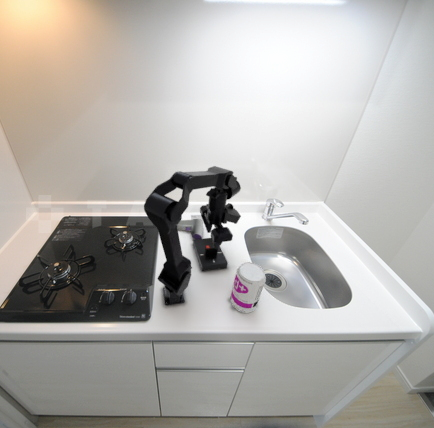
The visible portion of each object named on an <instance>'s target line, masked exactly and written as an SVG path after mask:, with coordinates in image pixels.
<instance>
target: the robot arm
mask: <svg viewBox="0 0 434 428" xmlns="http://www.w3.org/2000/svg"><path fill="white" fill-rule="evenodd" d="M207 188H210V189H209V190H208V191H207V192H206V193H205V196H207V197H208V203H206V204H205V205H201V206H200V207H199V213H200V216H201V220H202V221H203V225H204V227H205V229H206V233H208V234H210V238H211V239H212V242H213V245H214V248H215V249H218V248H219V246H220V247H221V245H222V243H224V242H231V241H233V237H234V234H233V233H232V231H231V230H230V228H229V227H227V226H225V227H224V226H223V225H225V224H227V223H228V222H229V223H233V224H235V225H237V224H238V223H239V220H240V219H241V217H242V216H241V214H240V213H239V211H238V210H237V209H236V208H234V205H233V204H232V203H229V202H228V203H227V201H228V200H231V199H232V198H233V197H236V195H237V194H239V193H240V192H241V189H242V188H241V184H240V182H239V181H238V177H237V176H235V175H234V171H233V170H230V169H227V168H223V167H219V166H216V165H213V166H210V167H208V168H207V170H198V171H197V170H196V171H181V170H180V171H175V172H174V173H173V174H172V175H171V176H170V178H169V179H167V180H165V181H163V182H162V183H160V184H159V185H156V187H155V188H154V189H153V190H152V192H151V193H150V194H149V195H148V197H146V199H145V201H144V204H143V211H144V212H145V214H146V216H147V218H148V220H149V221H150V222H151V223H152V224H153V226H155V227H156V229H157V233H158V235H159V240H160V243H161V246H162V249H163V253H164V257H165V262H163V264H162V265H163V266H162V269H161V271H160V272H159V274H158V276H157V280H158V282H160V283H162V284H163V285H164V287H163V288H162V292H163V301H164V305H165V306H171V305H177V304H184V303H185V296H184V292H185V290H186V289H187V288H188V287H189V284H190V281H191V277H192V269H193V267H192V261H191V259H189V258H188V257H186V256H184V255H183V250H182V246H181V240H180V239H181V238H180V235H179V230H178V229H177V225H178V223H179V222H180V221H181V220H183V219H182V218H183V216H182V215H183V214H184V212H185V211H187V209H188V208H189V204H190V196H191V195H190V194H191V193H193V191H194V190H200V189H207ZM177 189H179V190H182V191H181V197H180V199H179V200H176V199H173V198H171V197H169V196H167V195H168V194H169V193H170V194H171V193H172V192H173V191H175V190H177ZM213 226H214V228H213Z"/></svg>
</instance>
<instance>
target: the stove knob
mask: <svg viewBox="0 0 434 428" xmlns="http://www.w3.org/2000/svg"><path fill="white" fill-rule="evenodd" d="M217 251H218V249H215V248H214V245H210V246H205V255H206V256H210V255H217Z"/></svg>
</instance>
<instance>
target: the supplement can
mask: <svg viewBox="0 0 434 428" xmlns="http://www.w3.org/2000/svg"><path fill="white" fill-rule="evenodd" d="M266 281H267V276H266V273H265V270H264V269H263V268H262V266H261V265H259V264H257V263H255V262H251V261H247V262H243V263H241V264H240V265H239V266H238V267H237V269H236V273H235V277H234V280H233V284H232V289H231V293H230V297H229V299H230V304H231V305H232V307H233V308H234V309H235V310H237V311H239V312H240V313H244V314H249V313H252V312H254V311H255V310H256V308H257V305H258V303H259V300H260V297H261V295H262V292H263V289H264V287H265V284H266Z"/></svg>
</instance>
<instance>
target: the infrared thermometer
mask: <svg viewBox="0 0 434 428" xmlns="http://www.w3.org/2000/svg"><path fill="white" fill-rule="evenodd" d="M177 229H178V231H186V232H190V233H191V238H193V240H195V239H203V233H204V222H203V219H202V218H193V219H181V221H180V222H179V223H178V225H177Z"/></svg>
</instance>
